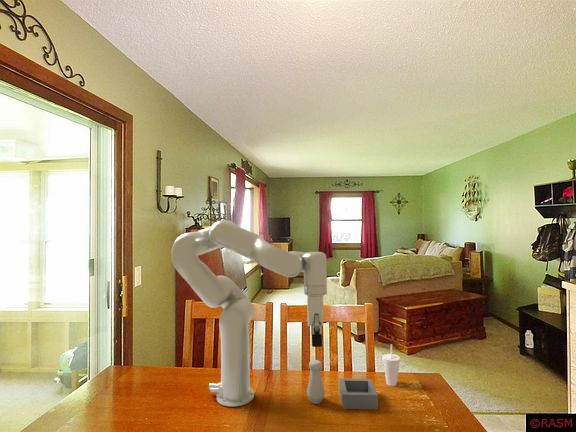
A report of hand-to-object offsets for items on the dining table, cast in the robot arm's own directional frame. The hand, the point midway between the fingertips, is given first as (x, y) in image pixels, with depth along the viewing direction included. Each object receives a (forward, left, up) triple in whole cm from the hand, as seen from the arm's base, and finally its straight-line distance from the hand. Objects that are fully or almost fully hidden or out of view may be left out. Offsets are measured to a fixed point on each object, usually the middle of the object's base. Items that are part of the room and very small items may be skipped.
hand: (316, 341), depth 115 cm
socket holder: (+14, +1, -20) cm, 24 cm away
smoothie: (+28, +13, -20) cm, 36 cm away
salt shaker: (0, 0, -20) cm, 20 cm away
